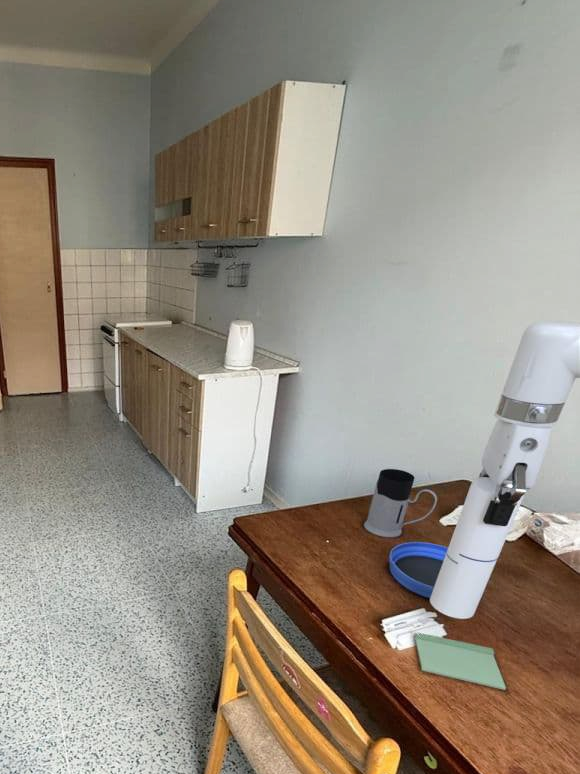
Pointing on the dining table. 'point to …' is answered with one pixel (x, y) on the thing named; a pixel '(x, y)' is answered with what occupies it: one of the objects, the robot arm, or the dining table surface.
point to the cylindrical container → (470, 553)
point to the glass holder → (391, 503)
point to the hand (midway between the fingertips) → (488, 512)
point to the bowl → (417, 565)
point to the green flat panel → (458, 660)
